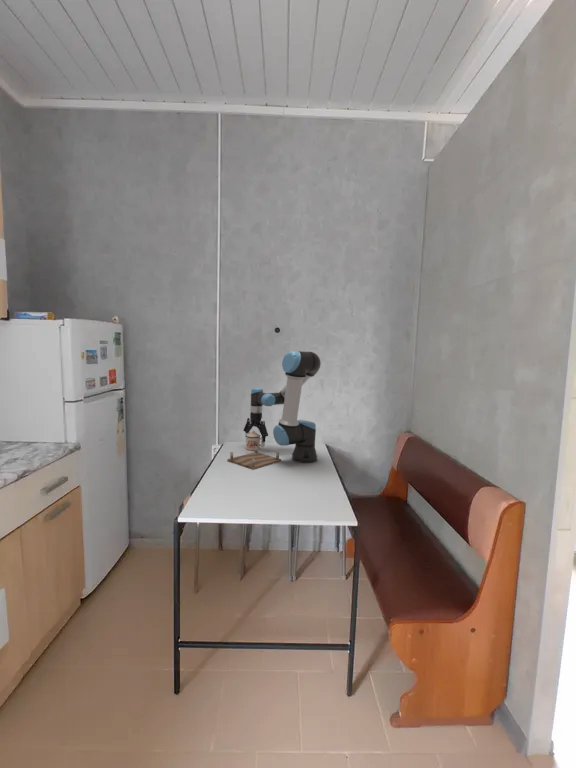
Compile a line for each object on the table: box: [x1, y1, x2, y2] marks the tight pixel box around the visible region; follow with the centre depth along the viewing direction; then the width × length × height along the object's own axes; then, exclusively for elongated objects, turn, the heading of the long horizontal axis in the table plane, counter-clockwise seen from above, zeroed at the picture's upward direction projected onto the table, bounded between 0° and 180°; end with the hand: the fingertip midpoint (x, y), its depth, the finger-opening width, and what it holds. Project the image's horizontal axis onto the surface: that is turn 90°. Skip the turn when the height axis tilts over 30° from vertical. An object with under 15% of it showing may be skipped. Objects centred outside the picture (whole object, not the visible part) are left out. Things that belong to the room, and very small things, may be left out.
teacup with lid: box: [245, 430, 261, 451], centre depth 251 cm, size 12×9×12 cm
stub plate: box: [226, 446, 283, 471], centre depth 225 cm, size 21×23×5 cm
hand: (255, 444), depth 251 cm, fingers open, 13 cm apart
